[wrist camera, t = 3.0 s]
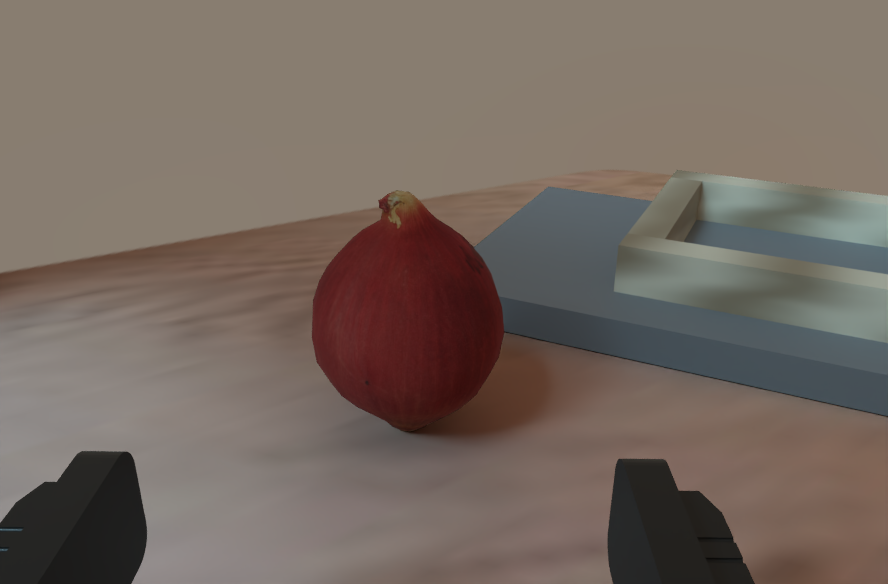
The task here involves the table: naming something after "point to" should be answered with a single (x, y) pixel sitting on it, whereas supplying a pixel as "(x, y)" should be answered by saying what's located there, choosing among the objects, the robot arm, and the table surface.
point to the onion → (407, 317)
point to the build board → (670, 324)
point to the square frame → (755, 275)
